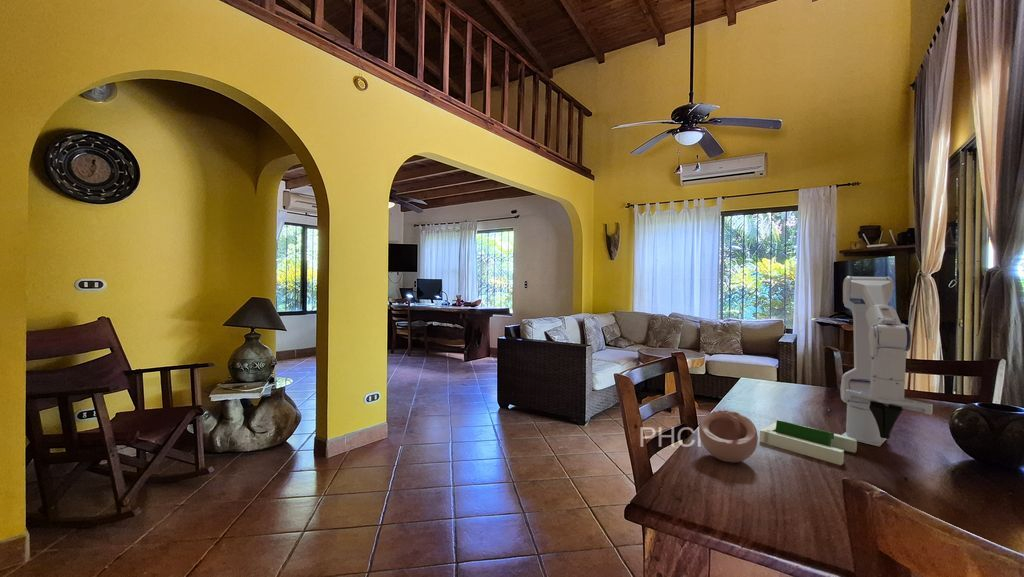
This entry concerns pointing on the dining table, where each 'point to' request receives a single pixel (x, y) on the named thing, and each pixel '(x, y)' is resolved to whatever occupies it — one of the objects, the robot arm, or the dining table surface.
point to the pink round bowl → (728, 435)
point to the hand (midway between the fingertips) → (885, 437)
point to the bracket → (810, 445)
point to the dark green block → (804, 433)
